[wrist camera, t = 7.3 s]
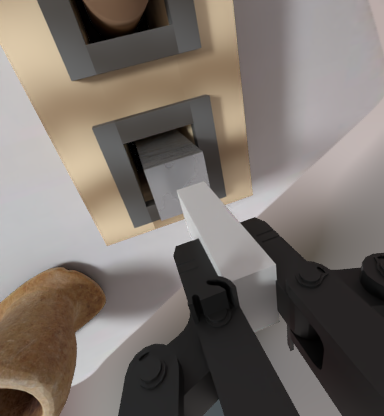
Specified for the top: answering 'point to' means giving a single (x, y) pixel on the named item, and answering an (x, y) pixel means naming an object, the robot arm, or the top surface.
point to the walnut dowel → (115, 16)
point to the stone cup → (43, 340)
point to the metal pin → (170, 168)
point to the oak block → (132, 99)
